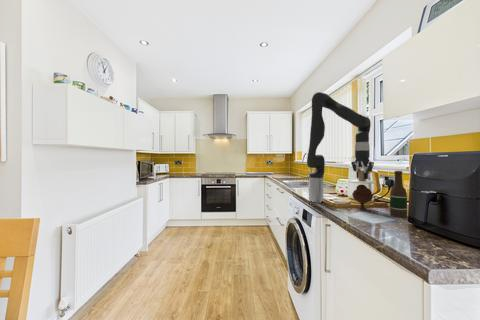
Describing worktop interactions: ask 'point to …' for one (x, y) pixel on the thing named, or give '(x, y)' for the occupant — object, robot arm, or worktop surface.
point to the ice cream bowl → (362, 195)
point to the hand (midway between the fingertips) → (362, 178)
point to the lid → (362, 179)
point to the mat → (369, 217)
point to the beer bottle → (398, 197)
